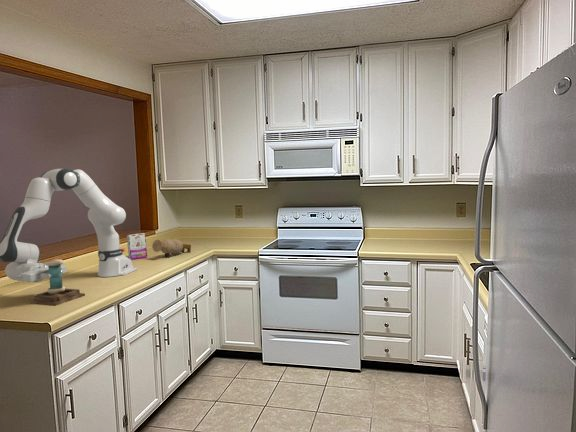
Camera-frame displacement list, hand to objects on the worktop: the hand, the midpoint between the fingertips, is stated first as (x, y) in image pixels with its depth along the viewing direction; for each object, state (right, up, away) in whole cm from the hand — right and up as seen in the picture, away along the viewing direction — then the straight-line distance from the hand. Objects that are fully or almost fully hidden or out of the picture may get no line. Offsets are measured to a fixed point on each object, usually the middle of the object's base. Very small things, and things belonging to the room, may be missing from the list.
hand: (56, 274), depth 205 cm
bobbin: (-1, -8, +1) cm, 8 cm away
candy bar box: (+5, -2, +96) cm, 96 cm away
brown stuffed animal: (+27, -1, +100) cm, 104 cm away
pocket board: (0, -12, +2) cm, 12 cm away
